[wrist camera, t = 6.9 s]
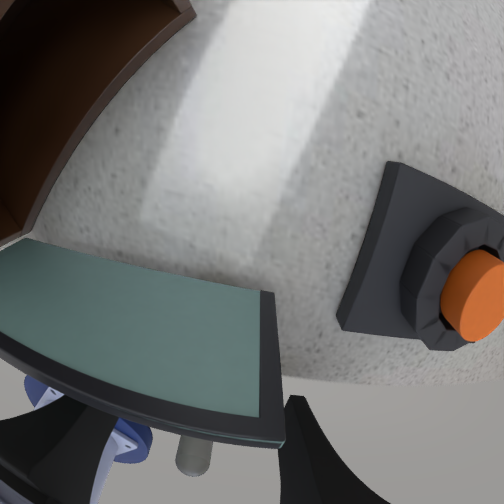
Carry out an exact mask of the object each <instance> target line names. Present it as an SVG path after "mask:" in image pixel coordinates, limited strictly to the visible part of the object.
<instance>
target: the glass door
mask: <svg viewBox="0 0 504 504" xmlns="http://www.w3.org/2000/svg"><path fill="white" fill-rule="evenodd" d="M0 358H1V359H3V360H4V361H6V362H7V363H9V364H11V365H12V366H14V367H15V368H17V369H18V370H20V371H22V372H23V373H25V374H27V375H29V376H30V377H32V378H34V379H36V380H37V381H39V382H41V383H43V384H45V385H47V386H49V387H51V388H52V389H54V390H56V391H58V392H60V393H63V394H65V395H67V396H69V397H71V398H73V399H75V400H78V401H80V402H82V403H84V404H87V405H89V406H92V407H94V408H97V409H99V410H102V411H104V412H107V413H109V414H112V415H115V416H118V417H121V418H123V419H126V420H129V421H133V422H136V423H139V424H142V425H145V426H149V427H152V428H156V429H159V430H163V431H167V432H172V433H175V434H179V435H181V438H180V442H179V446H178V450H177V454H176V465H177V467H178V469H179V470H180V471H181V472H182V473H184V474H185V475H188V476H192V477H193V476H200V475H202V474H204V473H205V472H206V471H207V470H208V468H209V465H210V459H211V452H212V445H213V441H214V442H220V443H226V444H233V445H242V446H250V447H259V448H271V449H280V448H281V447H282V445H283V444H284V442H285V440H286V433H285V418H284V405H283V391H282V377H281V364H280V352H279V340H278V328H277V317H276V306H275V295H274V293H273V292H268V291H262V290H261V291H257V290H251V289H246V288H241V287H235V286H230V285H225V284H220V283H215V282H210V281H205V280H200V279H195V278H190V277H185V276H181V275H176V274H171V273H167V272H162V271H158V270H153V269H149V268H144V267H140V266H135V265H131V264H127V263H122V262H118V261H114V260H110V259H106V258H102V257H97V256H93V255H89V254H85V253H81V252H78V251H74V250H70V249H66V248H62V247H58V246H55V245H51V244H47V243H43V242H40V241H36V240H33V239H29V238H24V239H22V240H20V241H18V242H16V243H14V244H13V245H11V246H9V247H7V248H5V249H3V250H1V251H0Z"/></svg>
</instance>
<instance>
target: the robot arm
mask: <svg viewBox="0 0 504 504" xmlns="http://www.w3.org/2000/svg"><path fill="white" fill-rule="evenodd" d="M284 418H285V433H286V440H285V442H284V444H283V445H282V447H281V448H280V449H278V457H279V467H280V479H281V495H280V504H390V503H389V502H387V501H385V500H384V499H383V498H381V497H380V496H378V495H377V494H376V493H375V492H373V491H372V490H371V489H370V488H368V487H367V486H366V485H365V484H364V483H363V482H362V481H361V480H360V479H359V478H357V476H356V475H355V474H354V473H353V472H352V471H351V470H350V469H349V468H348V467H347V465H346V464H345V463H344V462H343V461H342V459H341V458H340V457H339V455H338V454H337V453H336V451H335V450H334V448H333V447H332V445H331V444H330V442H329V441H328V439H327V438H326V436H325V435H324V433H323V431H322V429H321V428H320V426H319V424H318V422H317V420H316V418H315V416H314V415H313V413H312V411H311V409H310V407H309V405H308V402H307V400H306V398H305V397H304V396H297V395H290V397H289V399H288V401H287V403H286V405H285V407H284ZM118 419H119V417H118V416H115V415H112V414H109V413H107V412H104V411H102V410H99V409H97V408H94V407H92V406H89V405H87V404H84V403H82V402H80V401H78V400H75V399H73V398H71V397H69V396H67V395H65V394H63V393H60V392H58V391H56V390H54V389H52V388H51V387H48V389H47V390H46V392H45V393H44V395H43V396H42V398H41V399H40V401H39V402H38V404H37V405H36V407H35V409H34V410H33V411H31V412H29V413H26V414H23V415H20V416H17V417H14V418H10V419H5V420H0V504H98V501H99V498H100V496H101V493H102V490H103V487H104V484H105V482H106V479H107V476H108V473H109V471H110V468H111V466H112V463H113V461H114V458H115V456H116V455H119V454H122V453H125V452H128V451H131V450H134V449H137V447H138V443H137V442H136V441H134V440H133V439H131V438H129V437H128V436H126V435H125V434H123V433H121V432H120V431H118V430H117V429H115V428H114V427H115V425H116V423H117V421H118Z"/></svg>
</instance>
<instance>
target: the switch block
mask: <svg viewBox="0 0 504 504" xmlns="http://www.w3.org/2000/svg"><path fill="white" fill-rule="evenodd" d="M474 250H484V251H486V252H488V253H490V254H491V255H493V256H495V257H496V258H498V259H499V260H501V261H503V262H504V216H503V215H501V214H500V213H498V212H497V211H495V210H493V209H492V208H490V207H488V206H487V205H485V204H483V203H482V202H480V201H478V200H476V199H475V198H473V197H471V196H469V195H467V194H466V193H464V192H462V191H460V190H458V189H456V188H454V187H452V186H450V185H448V184H446V183H444V182H442V181H440V180H438V179H436V178H434V177H432V176H430V175H428V174H425V173H423V172H421V171H419V170H417V169H414V168H412V167H410V166H407V165H405V164H403V163H399V162H391V161H388V162H387V164H386V168H385V172H384V175H383V179H382V183H381V187H380V190H379V194H378V197H377V201H376V204H375V208H374V211H373V214H372V218H371V221H370V224H369V227H368V230H367V233H366V236H365V239H364V242H363V245H362V248H361V251H360V254H359V257H358V260H357V262H356V265H355V268H354V271H353V273H352V276H351V279H350V281H349V284H348V287H347V289H346V292H345V294H344V297H343V299H342V302H341V304H340V307H339V309H338V311H337V314H336V317H337V320H338V322H339V324H340V327H341V329H342V330H343V331H350V332H357V333H365V334H373V335H381V336H390V337H399V338H409V339H419V340H422V341H423V342H424V344H425V345H426V346H427V348H428V349H429V350H438V351H454V350H456V349H458V348H460V347H462V346H464V345H466V344H467V343H475V341H474V342H470V341H466V340H464V339H463V338H462V337H461V335H460V334H459V333H458V332H457V331H456V330H455V329H454V327H453V326H452V325H451V324H450V323H449V322H448V321H447V320H446V319H445V317H444V316H443V314H442V311H441V306H440V299H441V292H442V289H443V287H444V285H445V283H446V280H447V278H448V276H449V273H450V271H451V270H452V269H453V268H454V267H455V266H456V264H457V263H458V262H459V261H460V260H461V259H462V258H463V256H464V255H466V254H467V253H469V252H471V251H474Z"/></svg>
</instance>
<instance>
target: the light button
mask: <svg viewBox="0 0 504 504" xmlns="http://www.w3.org/2000/svg"><path fill="white" fill-rule="evenodd" d="M440 306H441V311H442V314H443V316H444V317H445V319H446V320H447V321H448V322H449V323H450V324H451V325H452V326H453V327H454V329H455V330H456V331H457V332H458V333H459V334H460V335H461V337H462V338H463V339H464V340H466V341H470V342H474V341H478V340H481V339H483V338H484V337H486V336H487V335H489V334H490V333H491V332H492V331H493V330H494V329H495V328H496V327H497V326H498V325H499V324H500V322H501V321H502V320H503V318H504V262H503V261H501V260H499V259H498V258H496V257H495V256H493V255H491V254H490V253H488V252H486V251H484V250H474V251H471V252H469V253H467V254H466V255H464V256H463V258H462V259H461V260H460V261H459V262H458V263H457V264H456V266H455V267H454V268H453V269H452V270H451V271H450V273H449V276H448V278H447V280H446V283H445V285H444V287H443V289H442V292H441V299H440Z"/></svg>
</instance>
